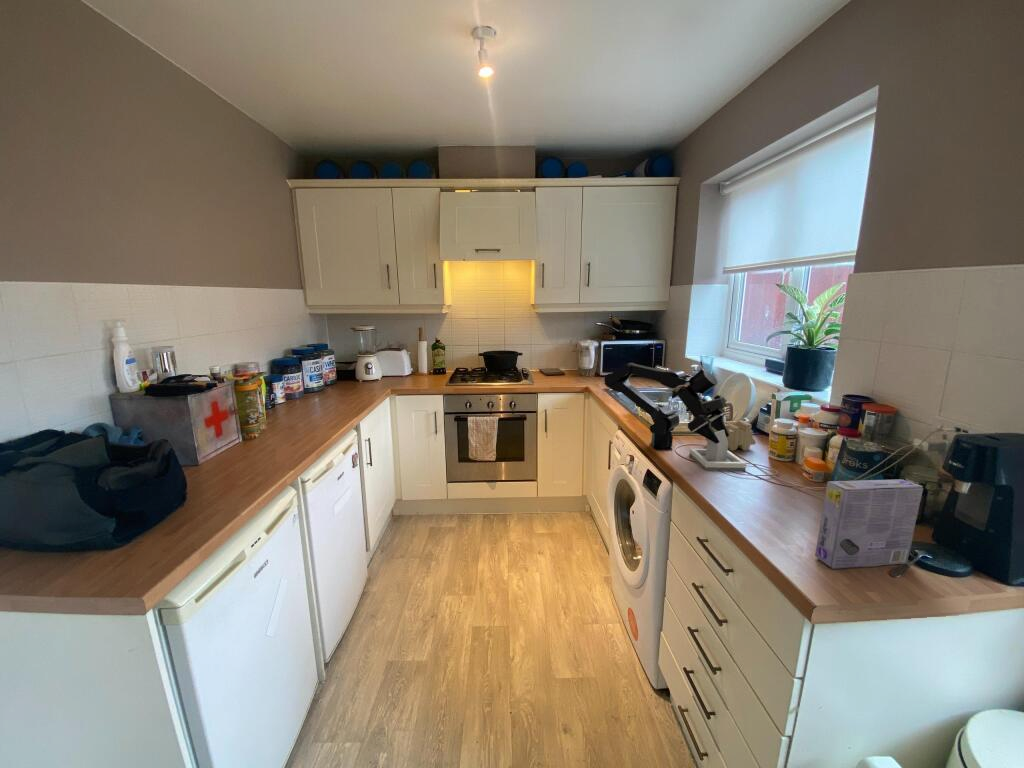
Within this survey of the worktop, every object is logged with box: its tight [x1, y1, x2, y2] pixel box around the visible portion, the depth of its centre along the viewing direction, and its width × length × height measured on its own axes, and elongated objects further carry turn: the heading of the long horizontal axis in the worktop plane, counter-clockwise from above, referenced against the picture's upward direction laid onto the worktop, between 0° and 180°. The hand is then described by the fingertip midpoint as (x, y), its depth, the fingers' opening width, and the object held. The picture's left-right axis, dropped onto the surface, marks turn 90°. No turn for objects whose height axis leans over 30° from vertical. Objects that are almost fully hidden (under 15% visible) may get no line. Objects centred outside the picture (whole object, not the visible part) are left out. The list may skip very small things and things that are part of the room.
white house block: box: [705, 430, 729, 462], centre depth 138 cm, size 4×7×10 cm, turn 126°
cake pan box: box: [814, 478, 924, 570], centre depth 85 cm, size 19×5×18 cm, turn 97°
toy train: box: [705, 419, 757, 451], centre depth 151 cm, size 6×17×10 cm, turn 95°
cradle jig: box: [688, 448, 747, 472], centre depth 138 cm, size 13×13×2 cm
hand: (723, 439), depth 136 cm, fingers open, 9 cm apart
